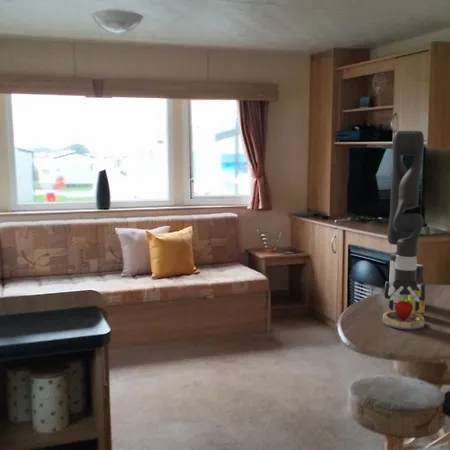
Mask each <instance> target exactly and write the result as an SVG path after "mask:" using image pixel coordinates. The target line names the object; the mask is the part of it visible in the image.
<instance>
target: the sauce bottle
mask: <svg viewBox="0 0 450 450" xmlns="http://www.w3.org/2000/svg"><path fill="white" fill-rule="evenodd" d="M423 271H424V265H423V264H418V263H417V269H416V284H421V283H424V285H425V286H426V282H425V280H424V275H423ZM414 292H415V293H416V295H417V296H418V297H420V296H421V290H419V288H418V287H417V288H416V289H415V290H414ZM408 301H411V302H410V303H411V304H412V306H413V309H412V312H413V313H417V314H420V315H422V316H423V317H424V315H425V309H426V307H425V305H426V303H425V302H426V299H425V300H422V301H420V302H419V310H417V311H415V310H414V308H415V298H414V297H413V296H412V294H410V295H408Z"/></svg>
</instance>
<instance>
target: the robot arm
mask: <svg viewBox="0 0 450 450" xmlns="http://www.w3.org/2000/svg"><path fill="white" fill-rule="evenodd" d="M424 145H425V139H424V133H423V132H422V131H421V130H396V131H395V132H394V133H393V137H392V174H391V185H390V186H391V187H390V203H389V204H390V206H389V207H390V208H389V218H388V228H387V241H388V243H389V245H393V246H394V245H395V246H396V251H395V252H392V253H391V254H390V256H389V274H388V275H389V278H388V279H389V280H388V281H385V285H384V293H383V296H384V298H385V299H387V300H388V307H389V309H390V311H394V304H396V303H397V302H400V299H403V300H406V299H408V295H410V294H412V296H413V297H414V298H415V308H414V310H415V311H417V310H419V302H420V301H422V300H425V301H426V284H425V285H424V283H425V282H424V283H421V284H416V269H417V264H418V260H417V259H418V258H417V252H418V251H417V250H418V249H417V248H418V243H419V238H420V235H421V232H422V229H423V227H424V217H423V216H422V214H420V213H416V212H415V213H414V212H413V213H411V212H410V213H409V212H405V211H407V210H413V209H415V208H417V207H418V206H419V199H420V198H419V195H420V194H419V192H420V188H419V187H420V177H421V173H422V172H421V171H422V164H423V155H424ZM402 156H413V161H412V162H411V165H410V167H409V168H408V169H407V167H406V166H405V164H404V162H403V158H402ZM417 287H418V288H419V290H421V296H420V297H418V296H417V295H416V293H415V292H414V290H415V289H416V288H417ZM404 296H405V297H406V299H405V297H404Z"/></svg>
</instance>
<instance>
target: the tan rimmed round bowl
mask: <svg viewBox="0 0 450 450" xmlns="http://www.w3.org/2000/svg"><path fill="white" fill-rule="evenodd" d="M381 320H382V322H383V323H382V324H383V325H384V326H386V327H389V328H392V329H395V328H396V329H395V330H401V329H402V330H403V331H407V330H408V331H417V330H421V329H423V328H424V327H425V318H424V315H423V316H422V315H420V314H417V313H413V312H411V314H410V315H409V317H408V318H407V319H406V320H405V321H401V319H400V317H399V316H398V315H397V313H396V310H388V311H386V312H384V313H383V312H382V319H381Z"/></svg>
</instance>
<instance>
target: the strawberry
mask: <svg viewBox="0 0 450 450" xmlns="http://www.w3.org/2000/svg"><path fill="white" fill-rule="evenodd" d="M404 297H405V296H404ZM405 299H406V297H405ZM410 302H411V301H408V299H406V300H403V299H400V302H397V303H395V304H394V308H395V310H394V311H396V313H397V315H398V316H399V317H400V319H401V321H405V320H406V319H407V318H408V317H409V315H410V314H411V312H412V309H413V306H412V304H411V303H410Z"/></svg>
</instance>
